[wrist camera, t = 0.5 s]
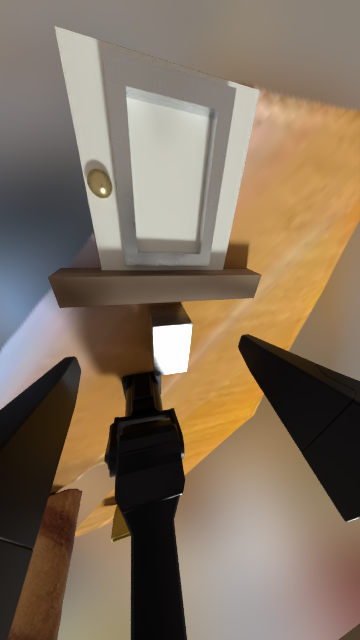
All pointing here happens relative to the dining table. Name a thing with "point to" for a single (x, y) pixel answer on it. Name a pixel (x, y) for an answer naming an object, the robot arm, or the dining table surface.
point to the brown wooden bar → (149, 286)
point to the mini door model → (156, 154)
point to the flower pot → (119, 527)
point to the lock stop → (169, 338)
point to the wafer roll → (48, 570)
